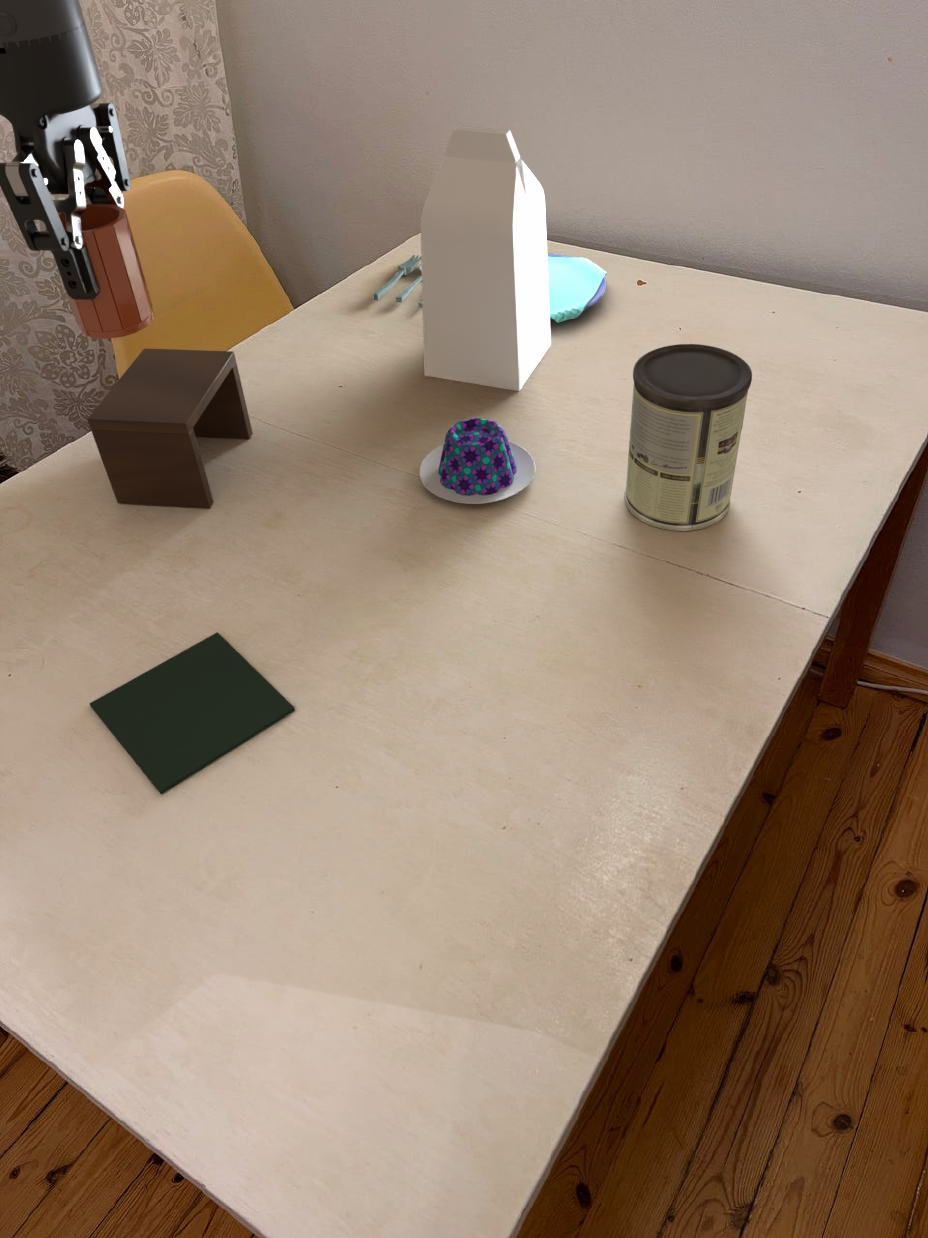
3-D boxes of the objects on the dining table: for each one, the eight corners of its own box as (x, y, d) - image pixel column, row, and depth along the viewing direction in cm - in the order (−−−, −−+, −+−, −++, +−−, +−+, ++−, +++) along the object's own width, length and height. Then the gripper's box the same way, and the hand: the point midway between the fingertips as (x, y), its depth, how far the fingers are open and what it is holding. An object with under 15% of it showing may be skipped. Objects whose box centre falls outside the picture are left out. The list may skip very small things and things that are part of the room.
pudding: (434, 438, 105) (430, 396, 101) (543, 446, 103) (544, 403, 99) (407, 504, 96) (402, 460, 93) (525, 514, 94) (525, 470, 91)
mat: (161, 795, 72) (159, 791, 71) (90, 706, 78) (89, 703, 78) (295, 710, 77) (294, 707, 77) (218, 635, 84) (217, 631, 84)
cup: (100, 346, 72) (65, 240, 67) (67, 322, 76) (30, 219, 70) (167, 320, 75) (138, 216, 70) (132, 298, 78) (102, 197, 73)
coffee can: (641, 461, 100) (652, 335, 90) (740, 482, 97) (764, 353, 87) (608, 518, 93) (617, 388, 84) (714, 542, 90) (736, 410, 80)
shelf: (210, 509, 97) (185, 423, 91) (117, 503, 99) (86, 419, 92) (252, 433, 107) (234, 351, 101) (168, 429, 109) (144, 347, 102)
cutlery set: (582, 341, 119) (583, 323, 118) (363, 311, 128) (361, 294, 126) (622, 274, 132) (623, 258, 131) (422, 251, 141) (420, 235, 140)
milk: (424, 375, 115) (405, 143, 97) (461, 331, 123) (449, 108, 105) (519, 391, 111) (517, 152, 94) (551, 344, 119) (554, 116, 101)
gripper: (20, -3, 67) (95, 239, 79) (-94, 52, 57) (12, 321, 68) (122, -5, 66) (183, 240, 78) (24, 50, 56) (112, 323, 67)
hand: (102, 277), depth 73 cm, fingers closed on cup, 6 cm apart
